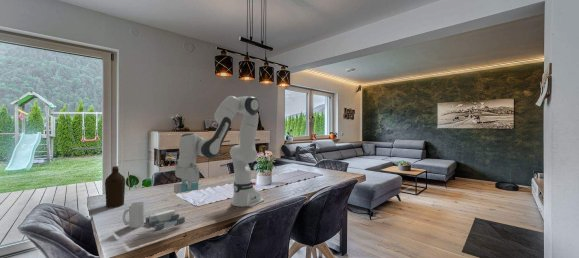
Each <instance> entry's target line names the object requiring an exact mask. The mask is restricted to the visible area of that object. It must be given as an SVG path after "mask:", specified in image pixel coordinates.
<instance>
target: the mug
mask: <svg viewBox="0 0 579 258" xmlns="http://www.w3.org/2000/svg"><path fill="white" fill-rule="evenodd" d="M127 213H128V221H127V220H126V215H127ZM122 221H123V224H124V225H125V226H129V227H128V228H131V229H136V228H140V227H143V226H144V225H145V201H135V202H132V203H129V204H128V208H125V209H124V211H123V213H122Z"/></svg>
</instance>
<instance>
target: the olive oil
mask: <svg viewBox="0 0 579 258" xmlns="http://www.w3.org/2000/svg"><path fill="white" fill-rule="evenodd" d="M111 169H112V170H111V173H110V174H109V175H108V176H107V177H106V178H105V180H104V181H105V182H104V187H105V188H104V191H105V192H104V193H105V207H106V208H107V209H108V208H110V209H111V208H119V207H121V206H124V205H125V190H126V178H125V176H124V175H122V174H121V173H120V172H119V166H118V165H114V166H112V167H111Z"/></svg>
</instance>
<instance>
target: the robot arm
mask: <svg viewBox="0 0 579 258" xmlns="http://www.w3.org/2000/svg"><path fill="white" fill-rule="evenodd" d="M259 108H260V102H259V100H258V99H257V97H255V96H246V95H245V96H233V95H229V96H227V97H225V99H224V100H223V101H222V102H221V103H220V104H219V106H218V107H217V108H216V111H215V112H214V115H213V117H214V120H215V122H217V127H216V130H215V131H214V134H213V135H212V136H211V138H209V139H205V138H203V137H201V136H199V135H197V133H196V132H185V133H184V134H181V136H180V138H179V145H178V151H179V155H178V158H177V159H176V160H175V161H174V165H175V167H174V175H175V177H176V178H178V179H181V184H182V183H188V184H187V186H186V188H187V189H190V188H191V184H192V183H194V182H198V183H199V181H200V171H199V170H200V169H199V168H198V166H197V156H200V157H205V158H208V159H214V158H216V157H218V156H219V154H220V152H221V149H222V145H223V142H224V140H225V139H226V136H227V135H228V133H229V130H230V129H231V125H232V121H233V119H234V118H235V116H236V114H237V113H240V114H242V119H241V123H240V126H239V127H240V128H239V131H238V132H239V133H238V137H239V141H240V142H239V144H237V145H236V144H235V145H233V146H232V147H231V148H230V150H229V156H230V157H231V161H232V165H233V171H234V177H233V180H234V182H233V194H232V195H233V196H232V201H231V205H232V206H234V207H254V206H255V205H257V204H259V203H262V202H264V201H265V199H264V198H263V197H261V196H262V195H261V192H260V191H259V190H258V189H256V188H255V187H254V186H256V184H257V183H256V182H255V181H252V170H251V168H250V165H249V164H250V163H251V164H253V163H254V162H256V160H257V158H258V151H257V150H256V134H257V131H258V127H259V126H258V124H259V117H260V116H259V113H258V111H259Z"/></svg>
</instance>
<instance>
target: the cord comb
mask: <svg viewBox="0 0 579 258" xmlns="http://www.w3.org/2000/svg"><path fill="white" fill-rule="evenodd" d="M185 219H186V217H185V216H181V217H180V214H179V213H175V214H174V215H171V219H170V220H166V221H162V222H159V219H155V220H152V221H150V223H149V216H146V217H145V223H146V224H147V225H148V226H150V227H152V228H153V229H154V230H156V231H159V230H162V229H165V228H169V227H173V226H176V225H178V224H182V223H185V222H186V220H185Z"/></svg>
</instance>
